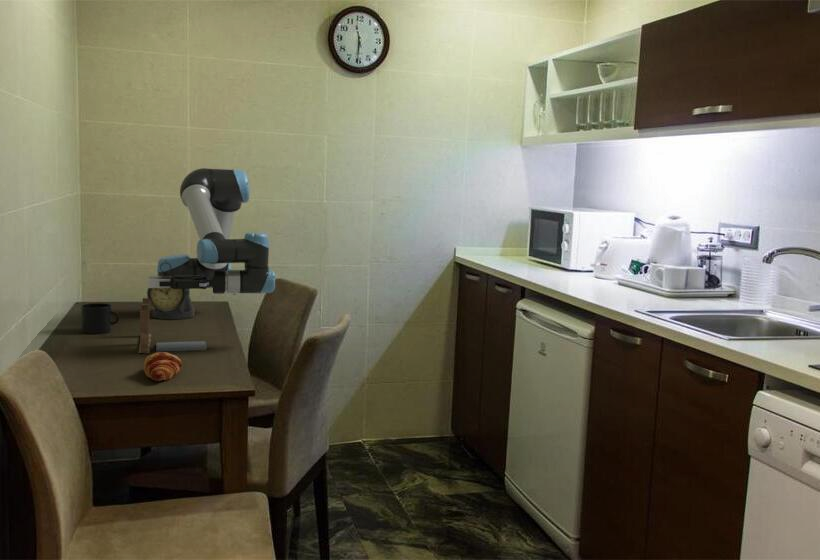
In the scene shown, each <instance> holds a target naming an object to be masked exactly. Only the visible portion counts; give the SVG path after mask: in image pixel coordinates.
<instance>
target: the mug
mask: <svg viewBox="0 0 820 560" xmlns="http://www.w3.org/2000/svg"><path fill="white" fill-rule="evenodd" d="M80 313H81V316H80V317H81V318H80V319H81V332H82V333H83V334H85V335H86V334H87V335H102V334H103V333H104V334H108V333H110V332H112V330H113V329H112V326H113V325H116V324H118V322H119V321H120V315H119V314H118V313H117V312H116V311H114V310H112V305H111V304H109V303H102V302H100V303H98V302H97V303H95V302H93V303H85V304H82V305H80ZM112 315H114V316H115V317H116V319H115V320H114V321H112Z"/></svg>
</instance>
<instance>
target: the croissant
mask: <svg viewBox="0 0 820 560" xmlns="http://www.w3.org/2000/svg"><path fill="white" fill-rule="evenodd" d="M143 362H144V363H143V372H144V373H145V376H146V377H148V378H149V379H151V380H153V381H154V382H155V381H156V382H160V381H162V380H164V381H168V379H169V380H171V379H172V378H174V377H175V376H177V374H178V372H180V371H181V370H182V368H183V362H182V361H181V359H180V358H179V357H178V356H177V355H176V354H175V355H174V354H171V353H169V352H168V351H157V352H155V353H152V354H150V355H148V356H147V357H146V358H145V360H144V361H143Z"/></svg>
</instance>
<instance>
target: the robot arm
mask: <svg viewBox="0 0 820 560" xmlns="http://www.w3.org/2000/svg"><path fill="white" fill-rule="evenodd" d="M250 194H251V193H250V182H249V179H248V175H247V173H246V172H245V171H244V170H242V169H234V168H232V169H223V168H207V167H205V168H204V167H203V168H198V169H194V170H193V171H191V172H190V173H188V174H187V175H186V176H185V177H184V178H183V180H182V182H181V185H180V188H179V196H180V200H181V201H182V204H183V205H184V206H185V207H187V210H188V212H189V215H190V217H191V219H192V222H193V225H194V228H195V231H196V233H197V235H198V238H199V240H198V241H197V245H196V255H197V257H194V258H193V257H191V256H190V255H189V254H186V253H185V254H171V255H167V256H163V257H160V259H159V258H158V259H159V260H158V261H157V269H156V272H157V275H154V276H153V275H149V276H148V278H147V289H148V288H170V286H171V288H173V289H185V298H184V301H183V303H182V304H181V306H180V307H178V308H179V309H180V311H181V312H182V313H181V314H180V312H179V311H178V310H177V309H175V310H173V311H170V312H163V311H159V310H156V312H154V314H153V315H152V317H153V318H156V319H160V320H184V319H185V320H186V319H190V318H193V317H195V309H194V308H195V307H194V305H193V301H192V300H191V299H192V298H191V296H190V290H194V289H195V290H196V289H199V290H206V289H212V293H213V294H214V295H215V294H216V295H217V294H219V295H221V294H222V295H223V294H225V292H226V294H232V295H233V296H236V295H237V294H260V295H262V294H270V293H273V292H274V291H275V288H276V272H275V271H274V270H273V269H270V268H269V256H270V255H269V252H270V251H269V250H270V242H269V235H268V234H267V233H265V232H246V233H245V234H244V237H243V238H234V239H233V238H231V239H230V236H231V232H232V229H233V228H232V227H233V224H234V218H235V216H236V215H235V214H236V212H237V211H239V210H240V209H241V207H242V204H246V203H247V202H249V201H250V196H251V195H250ZM164 262H167V263H169V264H170V265H171V270H170V265H169V264H167V263H165V264H162V263H164ZM161 264H162V266H161V270H162V271H163V272H164V271H167V272H168V271H169V270H170V271H169V272H168V273H167V276H171V278H170V279H156V278H158V277H161V276H164V273H163V272H162V271H161V270H160V265H161ZM232 264H244V266H243V267H244V269H232ZM172 277H173V278H175V279H177V280H173V278H172ZM170 280H171V281H170ZM154 309H155V308H154V307H153V310H154ZM153 310H152V311H153Z"/></svg>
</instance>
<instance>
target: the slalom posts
mask: <svg viewBox="0 0 820 560" xmlns="http://www.w3.org/2000/svg"><path fill="white" fill-rule="evenodd" d="M139 320H140V321H139V326H140V329H139V331H140V332H139V333H140V335H139V336H140V337H139V338H140V339H139V341H140V342H139V348H138V354H139V353H149V354H150V351H151V349H150V348H151V343H152V342H151V339H152V333H150V332H151V331H150V302H149V300H148V297H143V298H142V303H141V310H139Z"/></svg>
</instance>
